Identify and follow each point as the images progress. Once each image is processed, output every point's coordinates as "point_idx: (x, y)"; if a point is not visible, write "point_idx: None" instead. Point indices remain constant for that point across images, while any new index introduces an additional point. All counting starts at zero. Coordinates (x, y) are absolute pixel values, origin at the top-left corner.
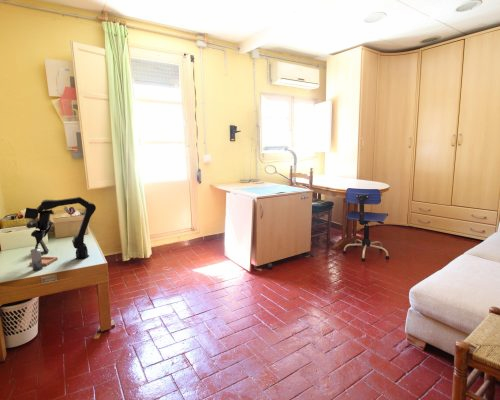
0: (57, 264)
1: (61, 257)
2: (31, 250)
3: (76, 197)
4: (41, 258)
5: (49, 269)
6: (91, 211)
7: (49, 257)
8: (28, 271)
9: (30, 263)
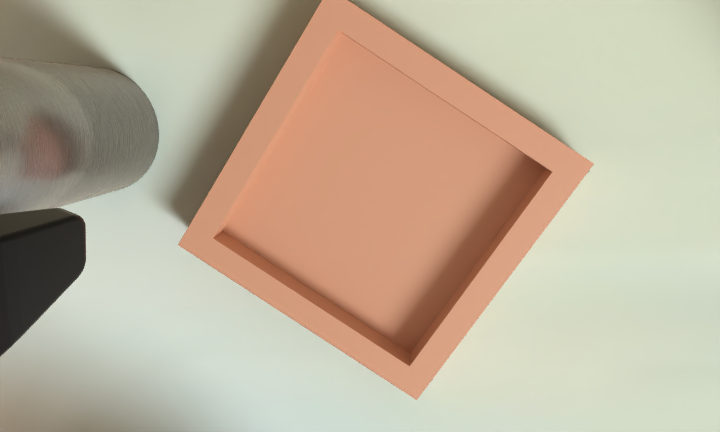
0: (192, 370)
1: (491, 428)
2: None
3: None
4: (533, 160)
5: None
6: None
7: (467, 286)
8: (70, 11)
9: (321, 8)
